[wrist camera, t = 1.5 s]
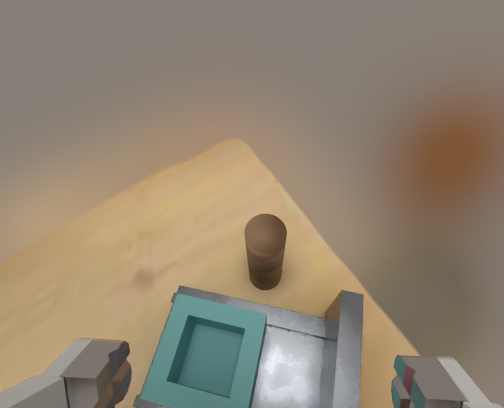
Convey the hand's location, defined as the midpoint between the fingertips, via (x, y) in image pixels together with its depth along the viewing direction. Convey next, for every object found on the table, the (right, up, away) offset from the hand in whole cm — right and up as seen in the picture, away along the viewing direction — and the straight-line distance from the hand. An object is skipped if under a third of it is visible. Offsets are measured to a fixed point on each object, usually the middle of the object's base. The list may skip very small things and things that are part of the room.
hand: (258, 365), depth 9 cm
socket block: (-4, -12, +24) cm, 27 cm away
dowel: (+2, -4, +30) cm, 30 cm away
